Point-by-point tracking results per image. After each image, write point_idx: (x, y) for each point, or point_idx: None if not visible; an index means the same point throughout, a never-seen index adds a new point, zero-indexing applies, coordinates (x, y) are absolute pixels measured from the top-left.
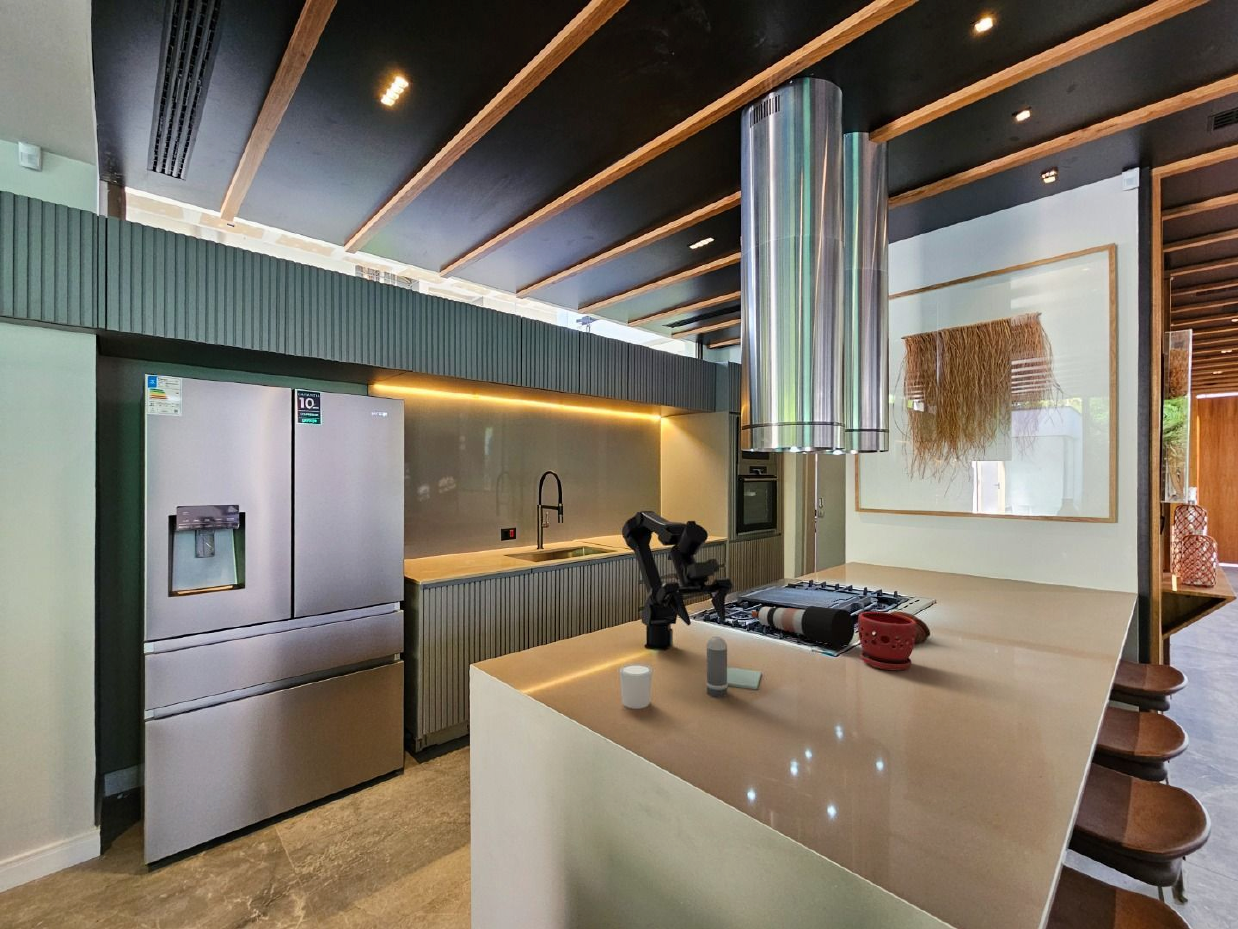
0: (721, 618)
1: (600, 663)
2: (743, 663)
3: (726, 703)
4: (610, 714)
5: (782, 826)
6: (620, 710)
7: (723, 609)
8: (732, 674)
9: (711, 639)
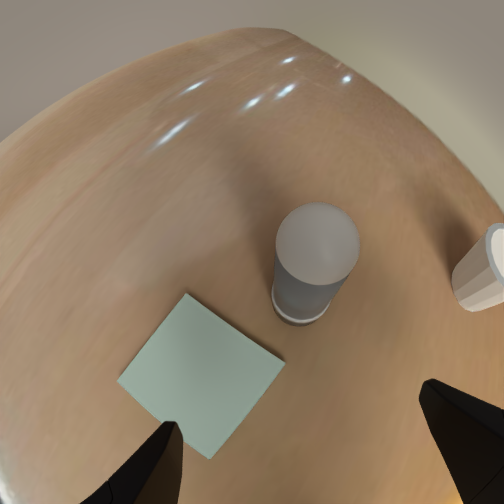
0: (179, 447)
1: None
2: None
3: None
4: None
5: (334, 60)
6: None
7: (136, 464)
8: (202, 391)
9: (349, 226)
